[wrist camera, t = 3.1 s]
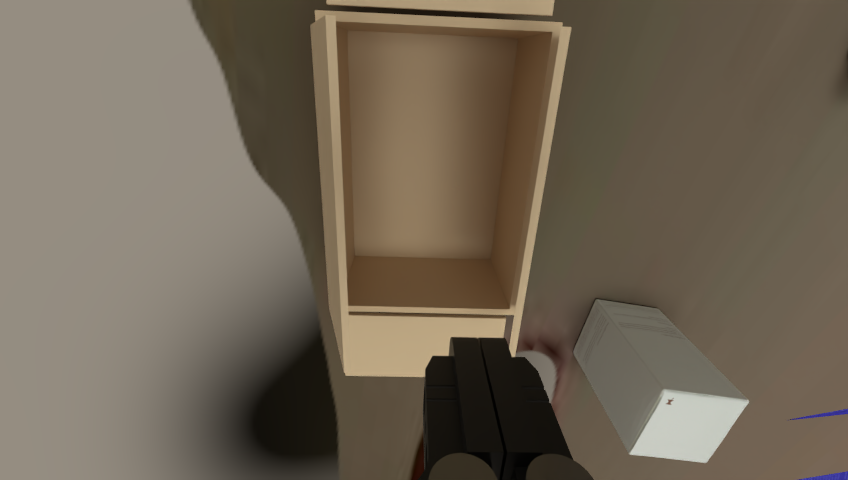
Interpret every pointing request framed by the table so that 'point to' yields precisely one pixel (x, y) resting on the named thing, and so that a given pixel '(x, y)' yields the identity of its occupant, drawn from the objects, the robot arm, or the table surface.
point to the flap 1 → (331, 176)
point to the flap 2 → (540, 181)
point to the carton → (437, 170)
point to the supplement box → (655, 383)
